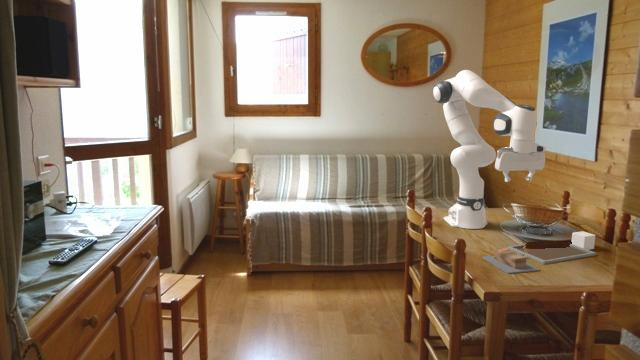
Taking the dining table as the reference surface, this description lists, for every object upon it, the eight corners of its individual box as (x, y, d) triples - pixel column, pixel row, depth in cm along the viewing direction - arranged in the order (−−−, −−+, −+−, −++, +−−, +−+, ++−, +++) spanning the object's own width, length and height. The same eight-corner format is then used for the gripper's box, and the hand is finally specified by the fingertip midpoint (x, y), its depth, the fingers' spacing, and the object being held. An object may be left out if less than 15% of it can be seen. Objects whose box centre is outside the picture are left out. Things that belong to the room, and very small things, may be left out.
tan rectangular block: (525, 266, 177) (526, 257, 176) (514, 268, 175) (515, 258, 175) (504, 257, 187) (505, 247, 187) (494, 258, 186) (495, 249, 185)
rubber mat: (481, 257, 188) (481, 256, 188) (511, 255, 191) (511, 254, 191) (507, 273, 172) (507, 272, 172) (539, 270, 175) (539, 269, 175)
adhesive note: (581, 244, 204) (582, 231, 203) (593, 249, 199) (595, 235, 198) (570, 246, 202) (572, 232, 201) (583, 250, 197) (584, 236, 196)
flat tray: (596, 252, 191) (538, 262, 180) (596, 256, 191) (538, 266, 180) (557, 239, 208) (501, 247, 198) (556, 242, 209) (501, 251, 198)
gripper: (502, 148, 185) (499, 183, 188) (549, 147, 189) (545, 182, 192) (493, 146, 191) (490, 180, 194) (538, 145, 195) (535, 178, 198)
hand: (518, 181), depth 193 cm, fingers open, 8 cm apart
